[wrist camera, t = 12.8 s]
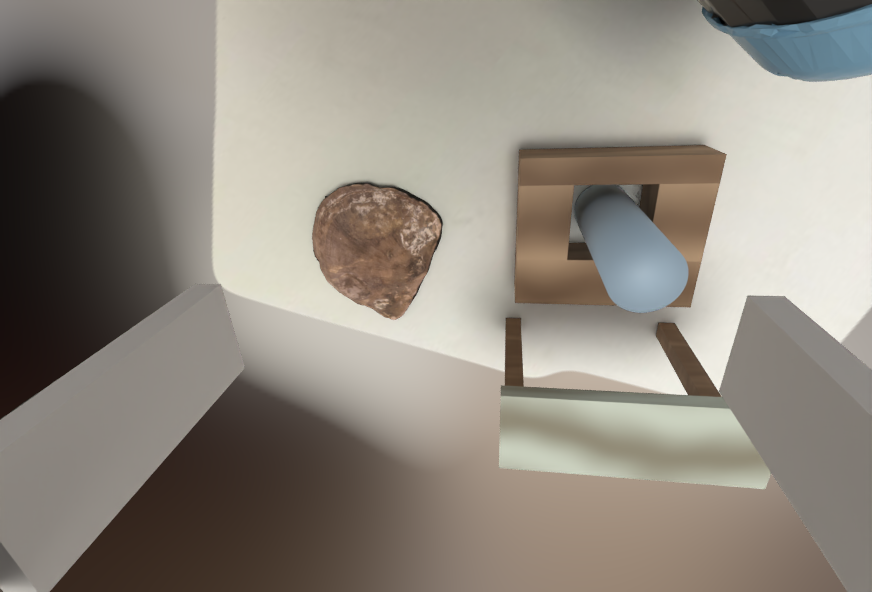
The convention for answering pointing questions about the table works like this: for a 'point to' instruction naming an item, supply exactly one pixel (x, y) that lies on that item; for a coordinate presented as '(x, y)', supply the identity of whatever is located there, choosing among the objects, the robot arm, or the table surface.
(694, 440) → the socket station
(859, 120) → the table surface
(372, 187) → the shell
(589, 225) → the peg
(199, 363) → the robot arm
